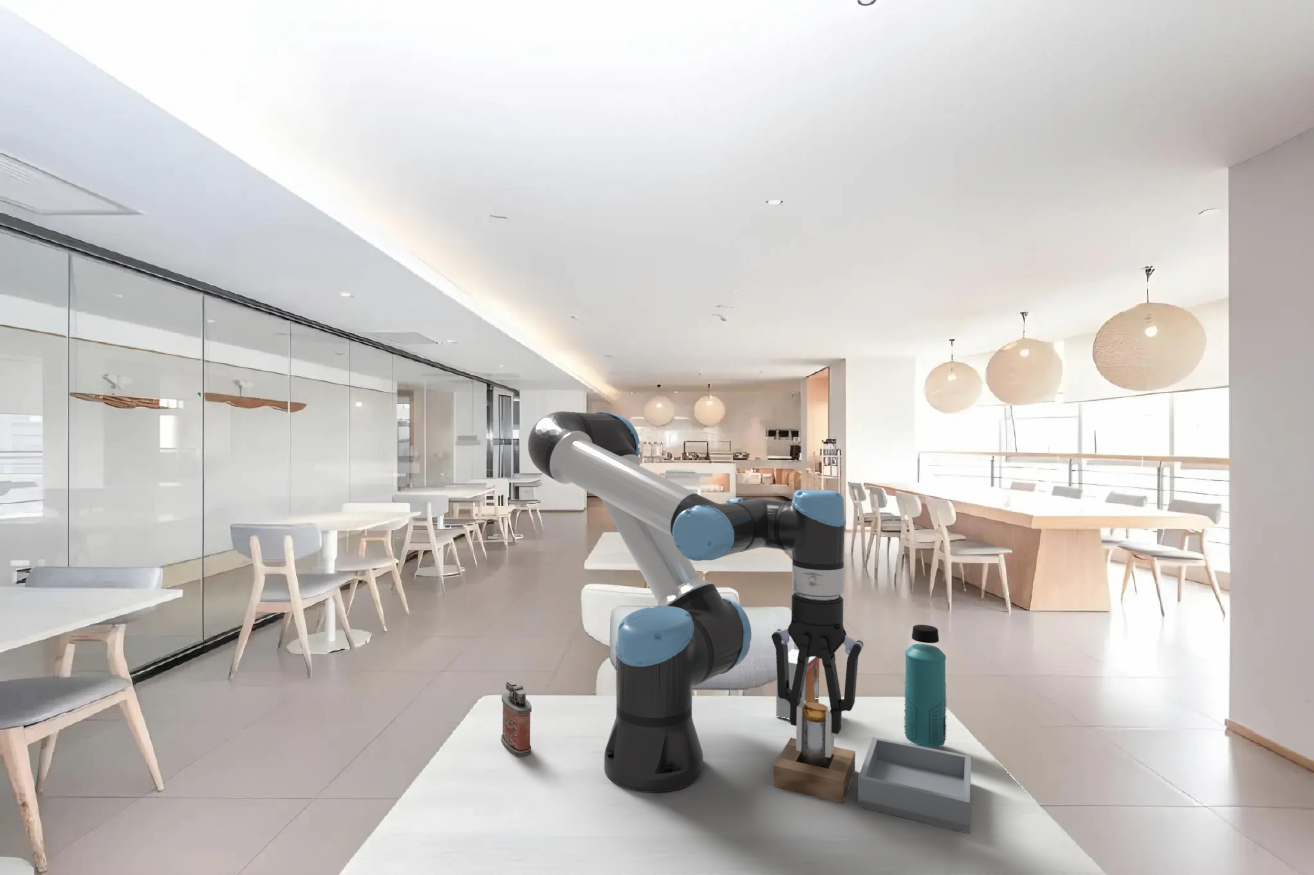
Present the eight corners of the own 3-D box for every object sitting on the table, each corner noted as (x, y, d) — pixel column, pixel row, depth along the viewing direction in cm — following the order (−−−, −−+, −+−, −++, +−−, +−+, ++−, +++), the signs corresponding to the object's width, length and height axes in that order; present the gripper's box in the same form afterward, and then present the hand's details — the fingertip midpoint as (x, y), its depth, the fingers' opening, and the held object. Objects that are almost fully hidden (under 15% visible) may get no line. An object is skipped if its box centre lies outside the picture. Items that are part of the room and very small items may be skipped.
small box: (804, 725, 119) (805, 665, 119) (775, 717, 122) (775, 659, 122) (819, 709, 126) (820, 653, 126) (791, 702, 129) (791, 647, 129)
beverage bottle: (950, 759, 107) (952, 633, 107) (906, 754, 108) (908, 630, 108) (941, 740, 113) (943, 622, 113) (900, 736, 115) (901, 619, 114)
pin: (799, 779, 100) (800, 709, 100) (805, 769, 103) (806, 700, 103) (824, 785, 98) (825, 714, 98) (829, 774, 101) (830, 705, 101)
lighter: (535, 753, 107) (536, 691, 107) (515, 759, 105) (516, 695, 105) (516, 734, 114) (516, 675, 114) (496, 739, 112) (497, 679, 112)
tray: (857, 806, 93) (858, 777, 93) (872, 762, 106) (872, 736, 106) (969, 833, 87) (969, 802, 87) (970, 783, 100) (970, 756, 100)
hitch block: (773, 785, 98) (773, 765, 98) (790, 756, 107) (790, 737, 107) (843, 802, 94) (843, 781, 94) (855, 770, 103) (855, 751, 103)
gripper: (756, 592, 101) (753, 748, 101) (871, 606, 93) (869, 774, 94) (770, 582, 107) (768, 728, 108) (879, 595, 100) (876, 751, 100)
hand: (815, 749), depth 101 cm, fingers closed on pin, 4 cm apart
